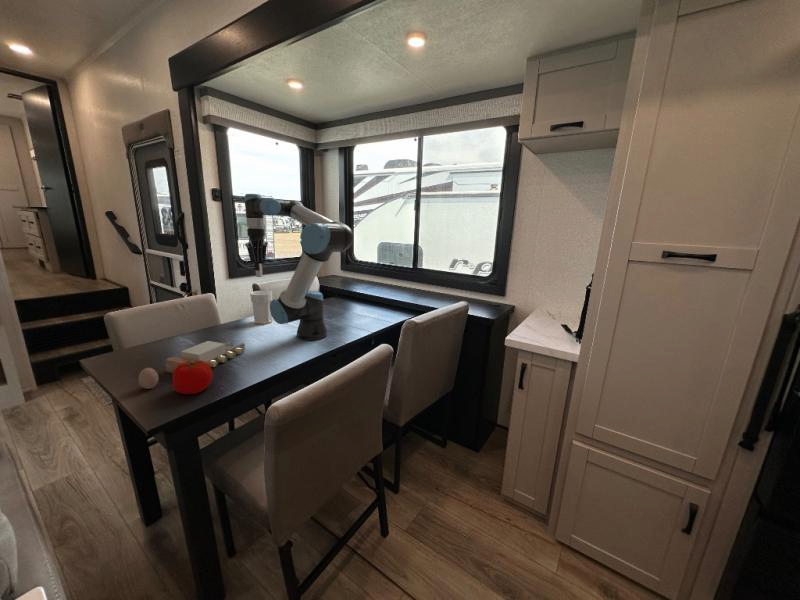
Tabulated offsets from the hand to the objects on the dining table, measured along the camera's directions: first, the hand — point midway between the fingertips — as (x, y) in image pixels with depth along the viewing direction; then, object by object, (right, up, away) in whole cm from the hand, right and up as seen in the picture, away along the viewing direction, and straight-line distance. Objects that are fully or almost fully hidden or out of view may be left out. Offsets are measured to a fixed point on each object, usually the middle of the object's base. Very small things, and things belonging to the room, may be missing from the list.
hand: (259, 276), depth 156 cm
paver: (-8, -34, -30) cm, 47 cm away
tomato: (0, -42, -49) cm, 65 cm away
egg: (-16, -42, -49) cm, 66 cm away
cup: (-8, -25, +23) cm, 35 cm away
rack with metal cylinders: (-7, -36, -27) cm, 46 cm away
